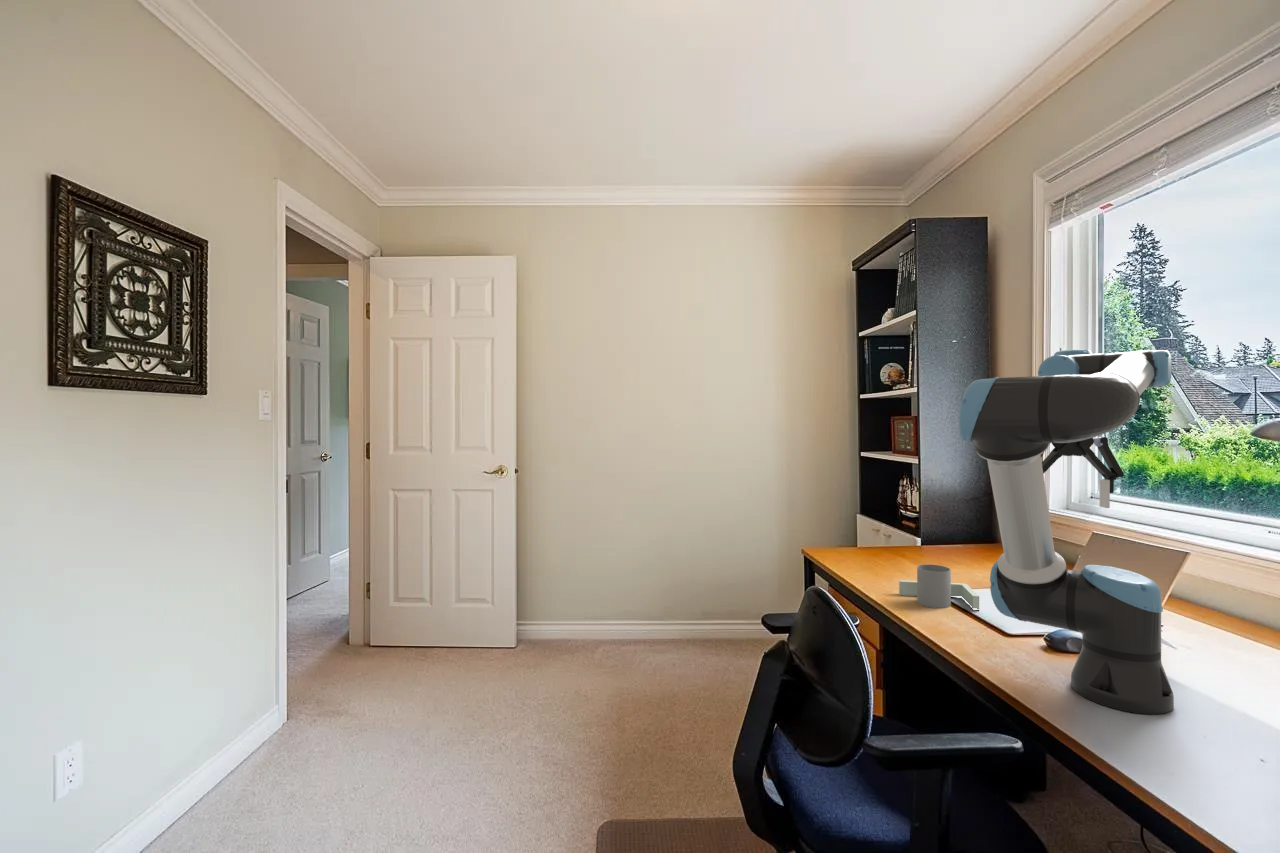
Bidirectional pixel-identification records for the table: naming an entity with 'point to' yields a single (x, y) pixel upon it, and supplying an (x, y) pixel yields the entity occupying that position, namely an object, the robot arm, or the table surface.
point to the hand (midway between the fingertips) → (1071, 506)
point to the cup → (934, 586)
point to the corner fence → (956, 590)
